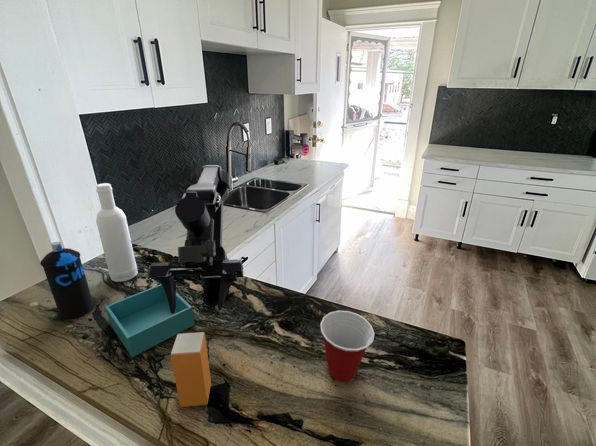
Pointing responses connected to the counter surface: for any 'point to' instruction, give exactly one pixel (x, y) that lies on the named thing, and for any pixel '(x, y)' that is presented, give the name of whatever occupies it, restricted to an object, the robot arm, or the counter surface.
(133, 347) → the bin
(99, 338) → the counter surface
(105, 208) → the bottle
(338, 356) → the plastic cup
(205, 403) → the drink carton
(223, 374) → the counter surface
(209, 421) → the counter surface
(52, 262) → the aerosol can
